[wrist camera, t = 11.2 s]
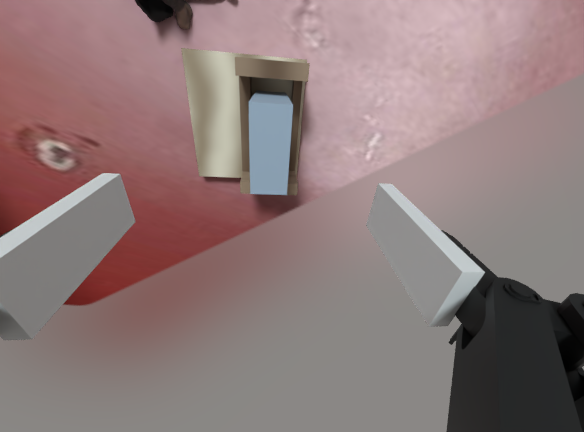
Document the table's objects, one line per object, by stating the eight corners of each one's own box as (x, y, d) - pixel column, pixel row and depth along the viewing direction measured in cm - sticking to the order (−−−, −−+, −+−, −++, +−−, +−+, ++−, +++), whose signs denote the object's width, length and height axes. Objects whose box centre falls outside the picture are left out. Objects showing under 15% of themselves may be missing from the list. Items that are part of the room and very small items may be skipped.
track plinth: (201, 172, 35) (186, 195, 29) (185, 49, 27) (159, 42, 21) (295, 176, 36) (300, 198, 30) (305, 60, 29) (315, 57, 22)
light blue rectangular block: (255, 90, 29) (247, 101, 18) (286, 92, 29) (294, 105, 19) (256, 155, 33) (249, 193, 23) (282, 156, 33) (287, 195, 23)
